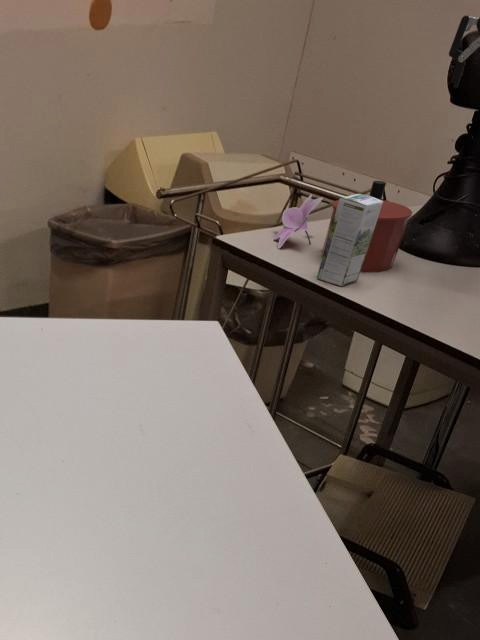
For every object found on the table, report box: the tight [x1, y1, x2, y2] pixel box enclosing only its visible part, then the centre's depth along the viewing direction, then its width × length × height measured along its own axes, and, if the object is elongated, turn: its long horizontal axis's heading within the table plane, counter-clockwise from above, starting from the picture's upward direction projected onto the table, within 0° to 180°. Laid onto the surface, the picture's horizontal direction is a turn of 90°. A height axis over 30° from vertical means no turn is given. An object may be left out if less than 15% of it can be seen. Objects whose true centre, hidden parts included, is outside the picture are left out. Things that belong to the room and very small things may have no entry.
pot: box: [321, 208, 409, 273], centre depth 167 cm, size 14×19×10 cm
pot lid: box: [332, 180, 413, 221], centre depth 162 cm, size 15×15×6 cm
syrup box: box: [316, 193, 383, 287], centre depth 156 cm, size 6×6×14 cm
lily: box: [272, 193, 324, 250], centre depth 175 cm, size 12×12×10 cm
